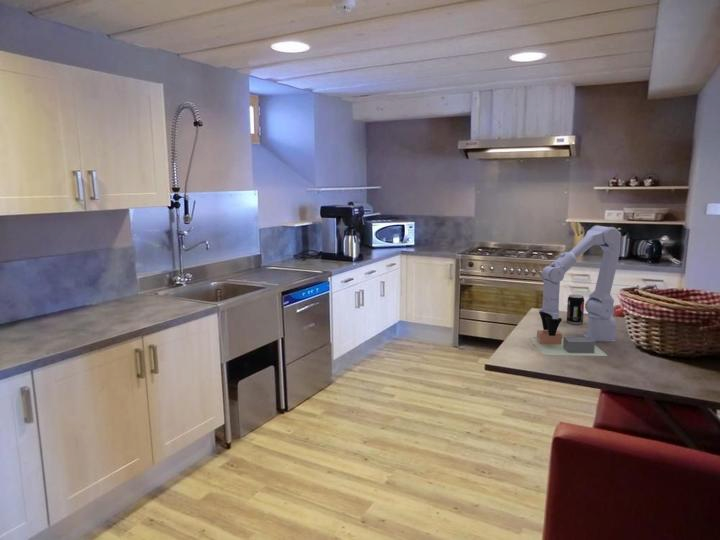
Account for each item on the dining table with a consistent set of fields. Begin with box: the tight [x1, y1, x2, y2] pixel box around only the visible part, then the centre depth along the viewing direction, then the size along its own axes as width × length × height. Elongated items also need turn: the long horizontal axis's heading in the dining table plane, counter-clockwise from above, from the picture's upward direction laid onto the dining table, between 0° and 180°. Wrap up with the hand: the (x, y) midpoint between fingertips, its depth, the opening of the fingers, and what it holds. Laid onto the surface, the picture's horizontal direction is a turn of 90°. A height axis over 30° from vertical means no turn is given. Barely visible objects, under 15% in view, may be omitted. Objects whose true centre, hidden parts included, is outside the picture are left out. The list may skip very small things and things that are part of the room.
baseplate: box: [529, 337, 608, 357], centre depth 189 cm, size 22×20×1 cm
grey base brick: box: [563, 336, 596, 353], centre depth 184 cm, size 9×6×4 cm, turn 85°
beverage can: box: [566, 294, 585, 325], centre depth 221 cm, size 7×7×12 cm
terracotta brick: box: [536, 329, 563, 344], centre depth 194 cm, size 8×4×4 cm, turn 85°
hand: (549, 332), depth 193 cm, fingers open, 7 cm apart
